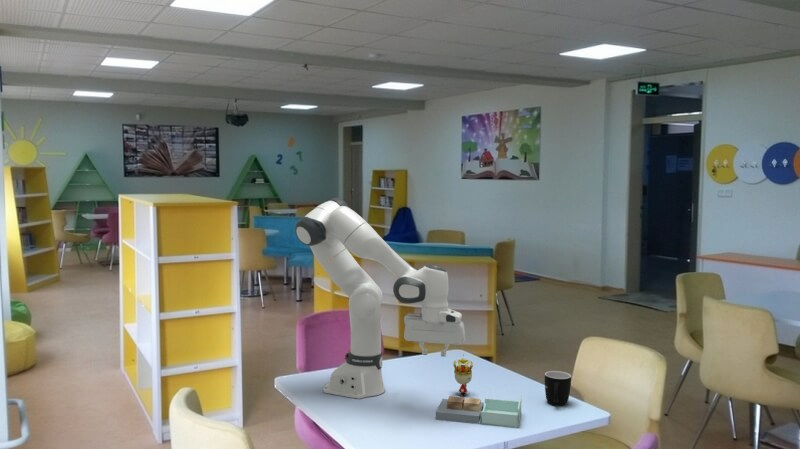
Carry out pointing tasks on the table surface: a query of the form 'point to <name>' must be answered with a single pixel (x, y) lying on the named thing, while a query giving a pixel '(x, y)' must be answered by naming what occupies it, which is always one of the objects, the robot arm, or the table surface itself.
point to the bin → (501, 413)
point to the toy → (463, 374)
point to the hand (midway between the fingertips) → (434, 355)
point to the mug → (557, 387)
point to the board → (458, 414)
